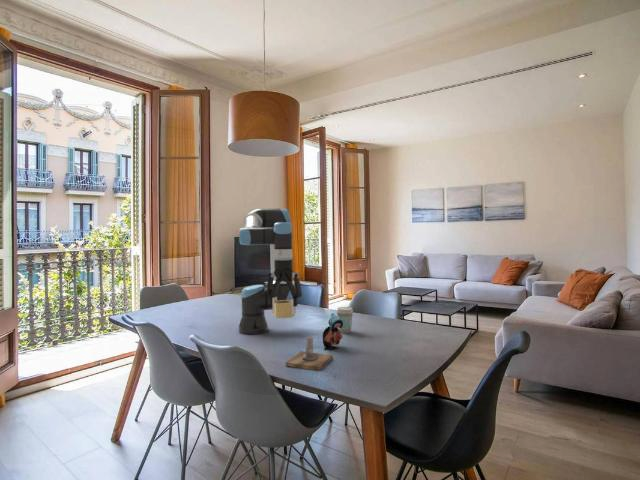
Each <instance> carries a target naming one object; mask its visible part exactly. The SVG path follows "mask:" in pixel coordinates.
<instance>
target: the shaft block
mask: <svg viewBox="0 0 640 480" xmlns="http://www.w3.org/2000/svg"><path fill="white" fill-rule="evenodd" d="M332 359H333V354H330V353H329V354H328V353H319V352H314V337H312V336H311V337H310V336H308V337H305V351H299V352H298V353H296V354H295V355H293V356H292V357H291V358H290V359H288V360H287V361H286V362H285V367H287V366H291V367H290V368H295V367H297V369H302V368H303V369H304V370H310V369H312V371H318V370H319V371H318V372H320V371H322V369H324V368H325V367H326V366H327V364H328V363H330V361H332Z"/></svg>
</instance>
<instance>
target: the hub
mask: <svg viewBox="0 0 640 480" xmlns="http://www.w3.org/2000/svg"><path fill="white" fill-rule="evenodd" d="M295 315H296V314H294V315H291V300H278V301H275V302H274V313H273V316H274V317H275V318H276V319H290V318H291V319H292V318H294V317H295Z"/></svg>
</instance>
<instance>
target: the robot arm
mask: <svg viewBox="0 0 640 480" xmlns="http://www.w3.org/2000/svg"><path fill="white" fill-rule="evenodd" d="M243 226H244V227H240V228H239V231H238V232H239V233H238V234H239V235H238V238H239V244H240V245H242V246H244V245H245V246H258V245H259V246H260V245H269V246H270V247H269V249H270V250H269V251H270V252H269V253H270V272H268V273H267V277H268V280H267V287H265V285H264V284H256V285H255V284H254V285H250V286H245V287H243V289H242V290H241V297H240V298H241V319H240V321H239V325H238V332H239V334H243V335H258V334H262V333H266V332H267V331H269V325H268V321H267V319H266V316H265V315H266V314H265V311H272V314H274V302H275V301H278V300H291V315H294V314H295V315H296V314H297V311H296V309H297V307H298V300H299V298H300V297H303V295H302V294H303V293H302V287H301V283H300V272H297V273H296V272H294V271H293V227H292V226H293V225H292V220H291V216H290V212H289V210H288V209H287V208H257V209H254V210H251V211H250V212H248V213H246V215H245V216H244V219H243ZM292 278H293V279H292ZM293 280H294V281H293ZM293 282H294V283H293Z"/></svg>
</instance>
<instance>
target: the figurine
mask: <svg viewBox="0 0 640 480" xmlns="http://www.w3.org/2000/svg"><path fill="white" fill-rule="evenodd" d="M327 324H328V325H329V326H327V327H326V328H325V329H324V330H323V332H322V338H321V339H322V343H323V347H324V348H323V350H325V351H331V350H336V349H337V348H339V345H340V342H341V341H340V340H342V339H343V333H341V332H340V330H339V328H342V327H343V320H342V319H340V318H338V316H337V315H335V313H331V314H330V318H329V320H328V323H327Z"/></svg>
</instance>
